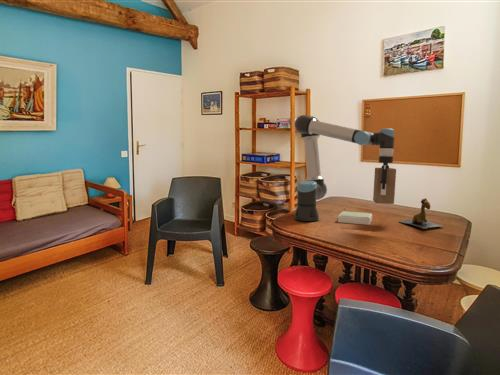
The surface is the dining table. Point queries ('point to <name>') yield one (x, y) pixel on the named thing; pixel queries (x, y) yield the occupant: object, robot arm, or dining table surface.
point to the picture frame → (355, 218)
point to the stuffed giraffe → (422, 217)
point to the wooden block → (389, 186)
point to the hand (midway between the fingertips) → (383, 193)
